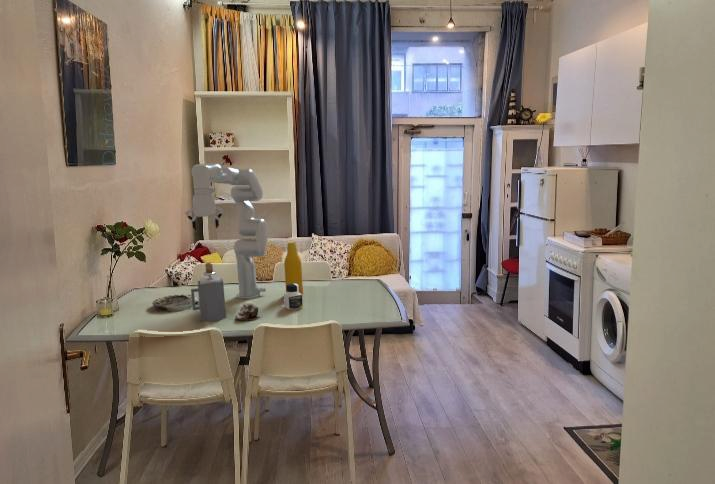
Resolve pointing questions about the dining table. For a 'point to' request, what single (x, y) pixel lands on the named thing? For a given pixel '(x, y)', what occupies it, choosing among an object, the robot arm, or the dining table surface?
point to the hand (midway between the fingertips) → (206, 228)
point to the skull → (248, 312)
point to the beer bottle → (293, 267)
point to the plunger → (209, 270)
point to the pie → (174, 302)
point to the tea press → (210, 299)
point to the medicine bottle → (293, 297)
